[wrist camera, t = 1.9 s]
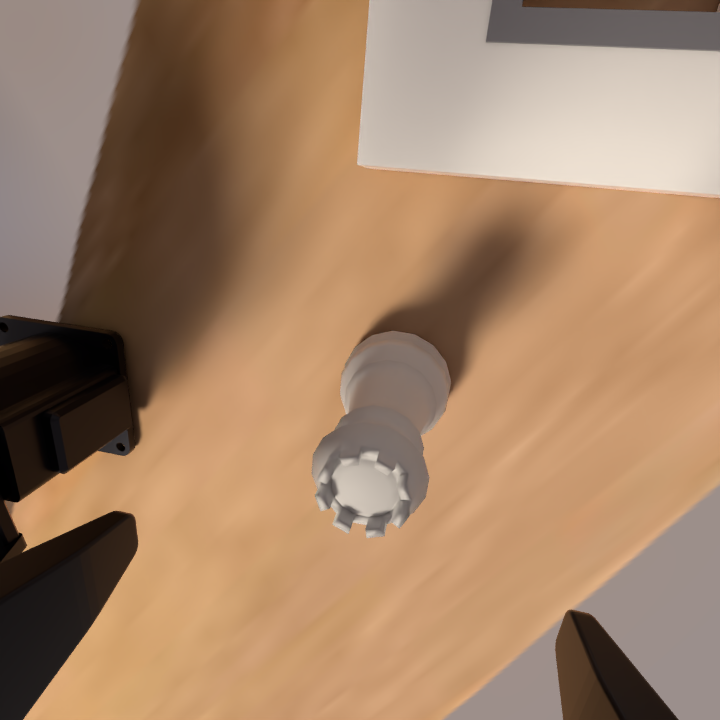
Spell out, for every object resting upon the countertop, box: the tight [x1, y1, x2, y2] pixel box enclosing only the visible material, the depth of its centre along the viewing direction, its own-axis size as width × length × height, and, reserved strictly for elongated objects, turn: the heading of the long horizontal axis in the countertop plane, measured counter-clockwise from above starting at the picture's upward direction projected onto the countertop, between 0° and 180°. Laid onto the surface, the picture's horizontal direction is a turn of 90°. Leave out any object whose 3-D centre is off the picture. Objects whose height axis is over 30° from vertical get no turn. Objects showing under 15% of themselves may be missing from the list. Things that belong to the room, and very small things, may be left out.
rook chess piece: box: [312, 331, 451, 538], centre depth 15 cm, size 4×4×8 cm
